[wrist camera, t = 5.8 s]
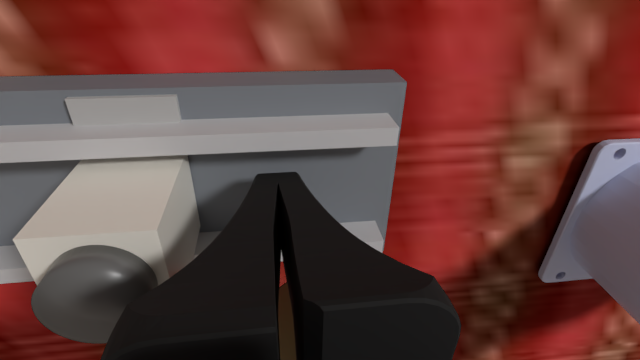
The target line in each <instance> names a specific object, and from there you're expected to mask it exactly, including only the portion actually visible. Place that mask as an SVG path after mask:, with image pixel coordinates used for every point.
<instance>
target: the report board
mask: <svg viewBox="0 0 640 360" xmlns="http://www.w3.org/2000/svg"><path fill="white" fill-rule="evenodd" d="M406 85H407V82H406V81H405V80H404V79H403V78H402V77H400V76H399V75H398V74H397V73H396V72H395V71H394V70H340V71H285V72H230V73H175V74H120V75H66V76H11V77H0V284H4V283H16V282H29V281H34V279H33V277H32V276H31V274H30V272H29V270H28V268H27V266H26V264H25V262H24V260H23V258H22V257H21V255H20V253H19V251H18V249H17V247H16V245H15V243H14V241H13V239H14V237H15V236H16V235H17V234H18V233H19V232H20V230H21V229H22V228H23V227H24V226H25V225H26V223H27V222H28V221H29V220H30V219H31V218H32V216H33V215H34V214H35V213H36V212H37V211H38V209H39V208H40V207H41V206H42V205H43V204H44V203H45V201H46V200H47V199H48V198H49V197H50V196H51V194H52V193H53V192H54V191H55V190H56V189H57V187H58V186H59V185H60V184H61V183H62V182H63V180H64V179H65V178H66V177H67V176H68V175H69V173H70V172H71V171H72V170H73V169H74V168H75V167H76V165H77V164H78V163H79V162H80V161H81V160H82V159H105V158H128V157H151V156H173V155H188V161H189V166H190V171H191V177H192V182H193V187H194V193H195V198H196V204H197V209H198V214H199V220H200V225H201V226H200V230H199V235H198V239H197V244H196V248H195V253H194V257H193V260H194V259H195V258H196V257H197V256H198V255H199V254H200V253H201V252H202V251H203V250H204V249H205V248H206V247H207V246H208V245H209V244H210V243H211V242H212V241H213V240H214V239H215V238H216V237H217V236H218V235H219V234H220V232H221V231H222V230H223V229H224V228H225V226H226V225H227V224H228V222H229V221H230V220H231V218H232V217H233V215H234V214H235V213H236V211H237V210H238V208H239V207H240V205H241V203H242V202H243V200H244V199H245V197H246V195H247V193H248V191H249V189H250V187H251V185H252V183H253V181H254V178H255V176H256V175H257V174H261V173H281V172H297V173H298V174H299V175H300V177H301V179H302V180H303V182H304V183H305V185H306V186H307V188H308V189H309V190H310V192H311V193H312V194H313V195H314V197H315V198H316V199H317V200H318V201H319V203H320V204H321V205H322V206H323V207H324V208H325V209H326V210H327V212H328V213H329V214H330V215H331V216H332V217H333V218H334V219H336V220H337V221H338V222H339V223H340V224H341V225H342V226H343V227H344V228H346V229H347V230H348V231H349V232H351V233H352V234H353V235H355V236H356V237H357V238H359V239H360V240H362V241H363V242H365V243H366V244H368V245H370V246H371V247H373V248H374V249H376V250H378V251H379V252H381V253H382V251H383V250H384V243H385V236H386V229H387V221H388V214H389V207H390V200H391V193H392V186H393V178H394V171H395V164H396V157H397V150H398V143H399V135H400V128H401V121H402V114H403V107H404V100H405V92H406ZM281 261H283V257H282V251H281Z"/></svg>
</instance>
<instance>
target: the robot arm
mask: <svg viewBox="0 0 640 360" xmlns="http://www.w3.org/2000/svg"><path fill="white" fill-rule="evenodd" d="M281 251H282V257H283V263H284V268H285V274H286V279H287V285H288V290H289V296H290V301H291V307H292V315H293V324H294V337H295V349H296V360H452V357H453V354H454V351H455V348H456V345H457V342H458V339H459V336H460V330H461V323H460V320H459V316H458V314H457V312H456V310H455V308H454V307H453V305H452V303H451V301H450V300H449V298H448V296H447V295H446V293H445V292H444V290H443V289H442V288H441V286H440V285H439V284H438V282H437V281H436V279H435V278H434V276H431V275H429V274H426V273H424V272H422V271H419V270H417V269H414V268H412V267H409V266H407V265H405V264H402V263H400V262H398V261H396V260H394V259H393V258H391V257H389V256H387V255H385V254H383V253H381V252H379V251H378V250H376V249H374V248H373V247H371V246H370V245H368V244H366V243H365V242H363V241H362V240H360V239H359V238H357V237H356V236H355V235H353V234H352V233H351V232H349V231H348V230H347V229H346V228H344V227H343V226H342V225H341V224H340V223H339V222H338V221H337V220H336V219H334V218H333V217H332V216H331V215H330V214H329V213H328V212H327V210H326V209H325V208H324V207H323V206H322V205H321V204H320V203H319V201H318V200H317V199H316V198H315V197H314V195H313V194H312V193H311V192H310V190H309V189H308V188H307V186H306V185H305V183H304V182H303V180H302V179H301V177H300V175H299V174H298V173H297V172H281V173H261V174H257V175H256V176H255V178H254V181H253V183H252V185H251V187H250V189H249V191H248V193H247V195H246V197H245V199H244V200H243V202H242V203H241V205H240V207H239V208H238V210H237V211H236V213H235V214H234V215H233V217H232V218H231V220H230V221H229V222H228V224H227V225H226V226H225V228H224V229H223V230H222V231H221V232H220V234H219V235H218V236H217V237H216V238H215V239H214V240H213V241H212V242H211V243H210V244H209V245H208V246H207V247H206V248H205V249H204V250H203V251H202V252H201V253H200V254H199V255H198V256H197V257H196V258H195V259H194V260H193V261H191V262H190V263H189V264H188V265H186V266H185V267H184V268H183V269H181V270H180V271H179V272H177V273H176V274H175V275H173V276H172V277H170V278H169V279H168V280H166V281H165V282H163V283H162V284H160V285H159V286H157V287H155V288H154V289H152V290H150V291H149V292H147V293H146V294H144V295H142V296H141V297H139V298H137V299H136V300H134V301H132V302H130V303H129V304H127V305H126V307H125V309H124V310H123V312H122V314H121V316H120V318H119V320H118V321H117V323H116V325H115V327H114V329H113V331H112V333H111V335H110V337H109V339H108V342H107V344H106V347H105V350H104V352H103V355H102V357H101V360H280V343H279V323H278V304H279V283H280V262H281ZM538 276H539V278H540V279H541V280H542V281H543V282H546V283H551V282H561V281H572V280H582V279H594V280H595V281H596V282H597V283H598V284H599V285H600V286H602V287H603V288H604V289H605V290H606V291H607V292H608V293H609V294H610V295H611V296H612V297H613V298H614V299H615V300H616V301H617V302H618V303H619V304H620V305H621V306H622V307H623V308H624V309H625V310H626V311H627V312H628V313H629V314H630V315H631V316H632V317H633V318H634V319H635V320H636V321H637V322H638V323H639V324H640V138H639V139H617V140H605V141H602V142H600V143H598V144H597V145H596V146H595V147H594V148H593V150H592V152H591V154H590V156H589V159H588V161H587V163H586V165H585V168H584V170H583V172H582V174H581V177H580V179H579V181H578V184H577V186H576V188H575V190H574V193H573V195H572V197H571V199H570V202H569V204H568V206H567V208H566V211H565V213H564V215H563V218H562V220H561V222H560V224H559V227H558V229H557V231H556V233H555V236H554V238H553V240H552V242H551V245H550V247H549V249H548V252H547V254H546V256H545V258H544V261H543V263H542V265H541V267H540V270H539V272H538Z"/></svg>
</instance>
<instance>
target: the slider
mask: <svg viewBox="0 0 640 360" xmlns="http://www.w3.org/2000/svg"><path fill="white" fill-rule="evenodd" d="M200 226H201V225H200V220H199V214H198V209H197V204H196V198H195V193H194V187H193V182H192V177H191V171H190V166H189V161H188V155H173V156H151V157H128V158H105V159H82V160H81V161H80V162H79V163H78V164H77V165H76V167H75V168H74V169H73V170H72V171H71V172H70V173H69V175H68V176H67V177H66V178H65V179H64V180H63V182H62V183H61V184H60V185H59V186H58V187H57V189H56V190H55V191H54V192H53V193H52V194H51V196H50V197H49V198H48V199H47V200H46V201H45V203H44V204H43V205H42V206H41V207H40V208H39V209H38V211H37V212H36V213H35V214H34V215H33V216H32V218H31V219H30V220H29V221H28V222H27V223H26V225H25V226H24V227H23V228H22V229H21V230H20V232H19V233H18V234H17V235H16V236H15V237H14V239H13V241H14V243H15V245H16V247H17V249H18V251H19V253H20V255H21V257H22V258H23V260H24V262H25V264H26V266H27V268H28V270H29V272H30V274H31V276H32V277H33V279H34V281H35V283H36V285H37V287H36V289H35V290H34V293H33V295H32V299H31V305H32V310H33V312H34V314H35V316H36V317H37V319H38V320H39V321H40V322H41V323H42V324H43V325H44V326H45V327H46V328H48V329H49V330H51V331H52V332H54V333H56V334H58V335H60V336H62V337H65V338H68V339H71V340H75V341H79V342H85V343H107V342H108V339H109V337H110V335H111V333H112V331H113V329H114V327H115V325H116V323H117V321H118V320H119V318H120V316H121V314H122V312H123V310H124V309H125V307H126V305H127V304H129V303H130V302H132V301H134V300H136V299H137V298H139V297H141V296H142V295H144V294H146V293H147V292H149V291H150V290H152V289H154V288H155V287H157V286H159V285H160V284H162V283H163V282H165V281H166V280H168V279H169V278H170V277H172V276H173V275H175V274H176V273H177V272H179V271H180V270H181V269H183V268H184V267H185V266H186V265H188V264H189V263H190V262H191V261H193V257H194V253H195V248H196V244H197V239H198V235H199V230H200Z"/></svg>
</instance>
